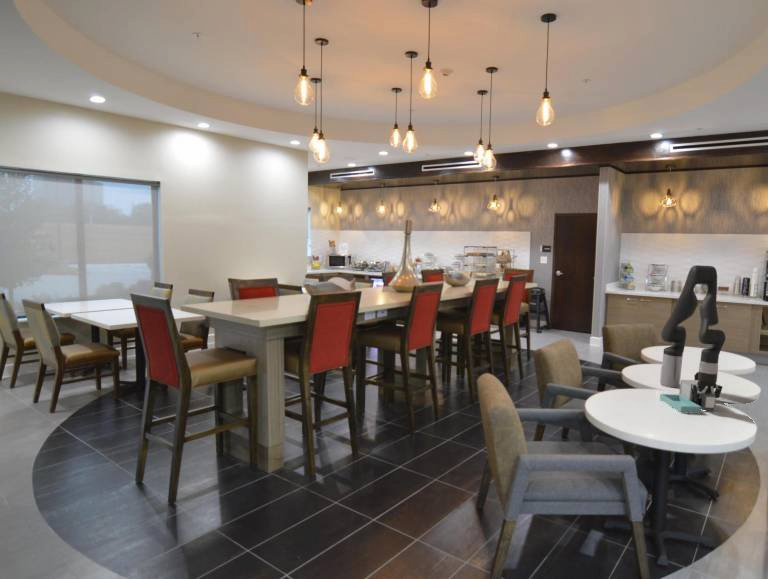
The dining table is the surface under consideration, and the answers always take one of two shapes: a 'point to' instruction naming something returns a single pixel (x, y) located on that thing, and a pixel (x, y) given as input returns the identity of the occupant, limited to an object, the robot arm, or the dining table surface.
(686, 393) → the light grey block
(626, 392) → the dining table surface
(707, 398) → the tall grey pillar
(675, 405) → the tray
